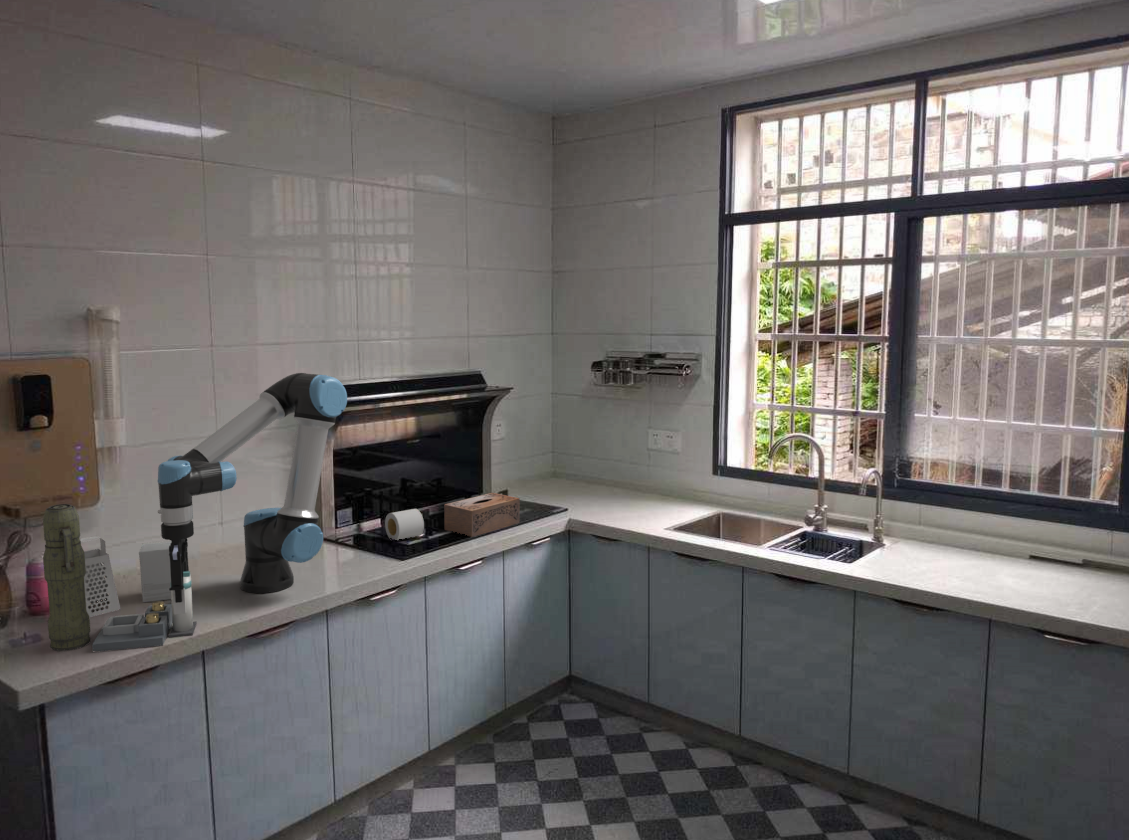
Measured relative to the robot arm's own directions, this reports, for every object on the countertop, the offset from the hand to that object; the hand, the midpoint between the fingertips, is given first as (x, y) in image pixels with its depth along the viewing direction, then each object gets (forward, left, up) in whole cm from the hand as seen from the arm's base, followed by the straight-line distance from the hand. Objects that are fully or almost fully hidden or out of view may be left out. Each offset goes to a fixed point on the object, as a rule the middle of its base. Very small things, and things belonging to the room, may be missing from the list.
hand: (181, 608), depth 218 cm
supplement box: (+10, -29, -6) cm, 31 cm away
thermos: (+26, +2, -6) cm, 26 cm away
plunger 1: (+6, -4, -3) cm, 8 cm away
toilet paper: (-64, -71, -6) cm, 96 cm away
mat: (0, 0, -6) cm, 6 cm away
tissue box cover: (-94, -80, -6) cm, 124 cm away
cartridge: (0, 0, -5) cm, 5 cm away
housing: (+11, +1, -6) cm, 13 cm away
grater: (+26, -22, -6) cm, 34 cm away
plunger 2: (+6, +4, -3) cm, 8 cm away
